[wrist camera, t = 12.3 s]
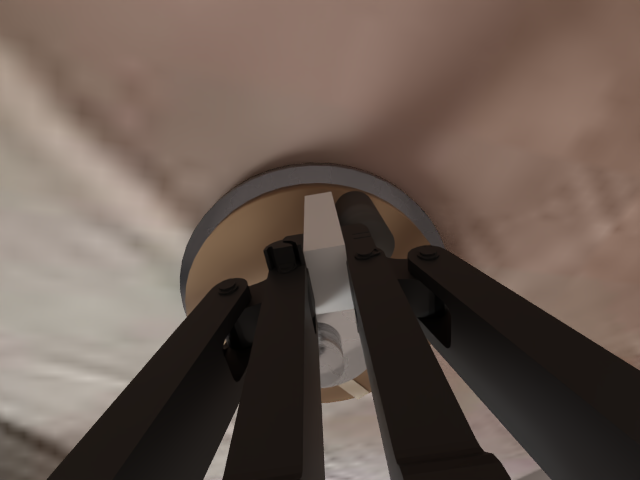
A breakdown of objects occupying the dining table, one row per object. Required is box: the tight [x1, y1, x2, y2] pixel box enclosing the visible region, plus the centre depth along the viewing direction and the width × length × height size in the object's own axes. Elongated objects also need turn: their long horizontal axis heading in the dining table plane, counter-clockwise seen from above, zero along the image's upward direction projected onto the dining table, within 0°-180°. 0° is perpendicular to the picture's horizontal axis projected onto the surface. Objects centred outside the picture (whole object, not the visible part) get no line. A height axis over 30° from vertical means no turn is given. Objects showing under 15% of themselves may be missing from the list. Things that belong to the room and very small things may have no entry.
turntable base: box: [180, 163, 445, 316], centre depth 24 cm, size 20×20×1 cm
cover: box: [315, 309, 367, 388], centre depth 19 cm, size 8×8×5 cm
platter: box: [185, 183, 431, 403], centre depth 20 cm, size 18×18×6 cm
